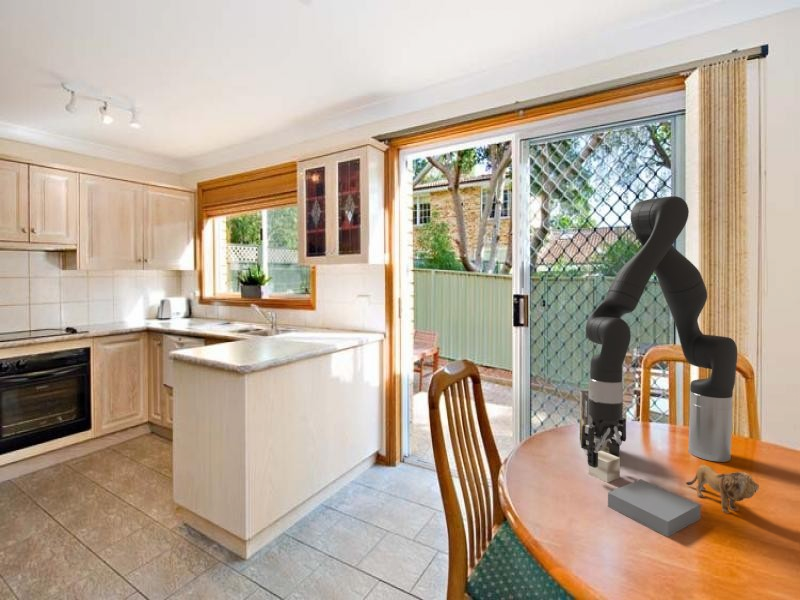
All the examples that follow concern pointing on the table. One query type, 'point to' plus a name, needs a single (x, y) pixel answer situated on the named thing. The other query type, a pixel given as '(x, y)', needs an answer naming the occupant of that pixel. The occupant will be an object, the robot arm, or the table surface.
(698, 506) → the base
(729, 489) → the lion figurine
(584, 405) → the coffee box
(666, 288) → the robot arm
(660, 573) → the table surface
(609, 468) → the wooden block
